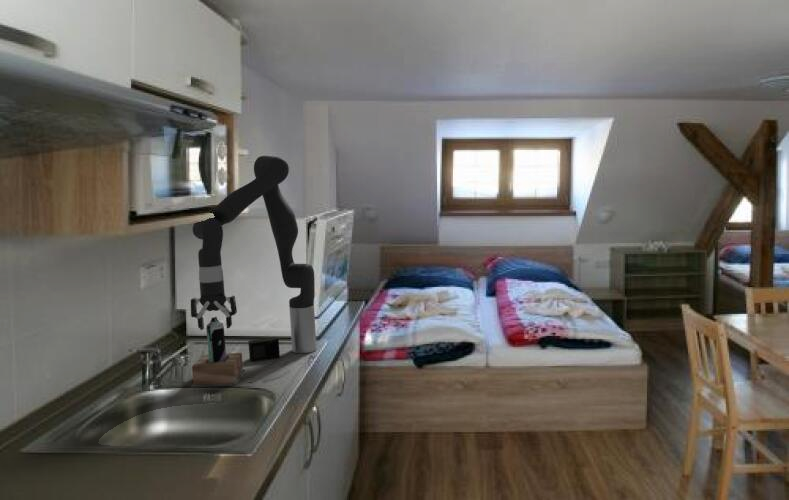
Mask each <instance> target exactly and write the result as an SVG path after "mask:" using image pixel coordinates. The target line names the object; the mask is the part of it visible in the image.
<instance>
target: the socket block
mask: <svg viewBox="0 0 789 500" xmlns="http://www.w3.org/2000/svg"><path fill="white" fill-rule="evenodd" d="M226 359H227V360H226V362H211V363H209V354H202V355H201V356H200V357H199V358H198V359H197V361H196V362H195V363H194V364H192V366H191V367H192V369H191V370H192V380H193V381H192V382H193V383H192V384H191V389H193V388H207V387H208V388H211V387H225V386H226V387H228V386H237V384H238V383H239V382H240V380H241V379H242V377H243V376H244V374H245V371H246V370H245V369H244V368H243V366H244V365H243V355H242V352H234V353H233V352H232V353H226Z"/></svg>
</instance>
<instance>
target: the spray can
mask: <svg viewBox="0 0 789 500" xmlns="http://www.w3.org/2000/svg"><path fill="white" fill-rule="evenodd" d="M224 327H225V326H224V322H221V321H219V319H218V317H217V316H214V317H211V320H210V322H209V323H208V324H206V338H207V339H206V340H207V350H208V351H207V352H208V355H209V363H211V362H226V360H227V359H226V354H227V350H226V339H225V328H224Z"/></svg>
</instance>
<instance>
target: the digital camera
mask: <svg viewBox="0 0 789 500" xmlns="http://www.w3.org/2000/svg"><path fill="white" fill-rule="evenodd" d="M279 341H280V339H279V338H278V337H274V336H273V337H267V338H260V339H259V338H258V339H253V340H252V339H251V340H248V354H249V360H250V361H251V362H259V361H265V360H271V359H272V360H273V359H280V357H281V355H280V342H279Z"/></svg>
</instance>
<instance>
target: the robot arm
mask: <svg viewBox="0 0 789 500" xmlns="http://www.w3.org/2000/svg"><path fill="white" fill-rule="evenodd" d="M253 172H254V173H253V174H254V177H255V178H254V179H253V180H251V181H250V182H249V183H247V184H245V185H243V186H241V187H239V188H238V189H236V190H235V189H234V191H232V192H231V193H229V194H228V195H227V196H226V197H225V198H224V199H222V200H221V201H220V202H218V203H217V205H216V206H215V207H212V209H210V210H208V211H207V212H210V213H213V214H214V216H215V217H214V218H209V219H207V220H205V221H201V222H197V223H195V222H194V223H193V225H192V233H193V235H194V236H195V237H196V238H197V239H199V240H202V245H201V246H202V247H201V248H200V249H199V250H198V253H197V255H198V256H197V257H198V266H199V267H198V281H199V292H200V298H197V297H193V298H191V299H190V316H191V317H192V318H196V319H197V327H198V329H199V330H201V331H203V330H204V329H205V323H204V315H205V313H206V312H207V311H208V312H213V311H214V312H215V311H216V312H218V311H220V312H221V313H222V314H223V315H225V316H226V317H225V322H226V323H225V325H226V329H230V328H231V326H232V324H233V320H232V319H233V318H232V316H235V315H236V314H237V313H238V309H237V302H236V296H235V295H231V296H226V293H225V281H224V271H223V266H222V265H223V264H222V263H223V262H222V255H221V251H222V246H223V245H222V244H223V239H224V230H223V226H224V225H226V224H229V223H231V222H233V221H234V220H235V219H237V217H239V215H241V214H242V212H244V211H245V210H246V209H247V208H248V207H249V206H250V205H252V204H253V203H254V202H256V200H258V199H260V198H262V197H263V201H264V205H265V208H266V209H265V210H266V212H267V216H268V220H269V224H270V227H271V231H272V234H273V238H274V242H275V246H276V248H277V249H276V250H277V254H278V260H279V263H280V271H281V276H282V281H283V283H284V285H285V286H286V287H287V288H290V289H300V292H299V294H298V295H296V296H294V297H291V298H290V299H289V300H288V304H289V305H288V306H289V321H290V337H291V338H290V339H291V351H292V352H293V353H294V354H309V353H313V352H316V351H317V350H318V349H317V333H316V331H317V330H316V317H315V316H316V315H315V296H316V293H315V292H316V289H315V282H316V281H315V270H314V267H313V266H312V264H310V263H295V261H294V258H293V250H294V249H293V248H294V246H295V243H296V240H297V238H298V235H299V228H298V223H297V218H296V215H295V213H294V211H293V209H292V207H291V205H290V204H289V202H288V201H287V200H286V199H285V196H284V195H283V194H282V191H281V188H280V186H279V184H282V183H283V182H284V181H285V180H286V179H287V177H288V175H289V172H290V167H289V164H288V162H287V161H286V160H285V159H284V158H282V157H280V156H273V155H272V156H271V155H261V156H259V157H257V158H256V160H255V162H254V164H253ZM226 301H227V302H228V304H230V309H228V307H227V305H225V303H226ZM199 303H200V304H201V306H202V307H201V309H200V310H199V312H197V311H198V309H197V305H199Z"/></svg>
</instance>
